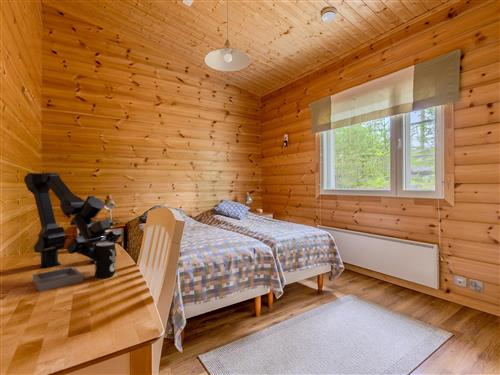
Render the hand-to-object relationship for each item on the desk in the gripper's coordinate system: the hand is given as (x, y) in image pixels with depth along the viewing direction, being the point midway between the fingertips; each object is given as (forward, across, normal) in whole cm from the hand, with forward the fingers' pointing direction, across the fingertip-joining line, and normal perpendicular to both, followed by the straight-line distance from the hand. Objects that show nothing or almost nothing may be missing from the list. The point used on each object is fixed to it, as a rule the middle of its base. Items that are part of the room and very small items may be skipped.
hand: (107, 258), depth 96 cm
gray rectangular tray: (-4, -10, +13) cm, 17 cm away
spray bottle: (-26, +23, +36) cm, 50 cm away
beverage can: (+4, 0, +6) cm, 7 cm away
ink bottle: (-9, +13, +19) cm, 25 cm away
